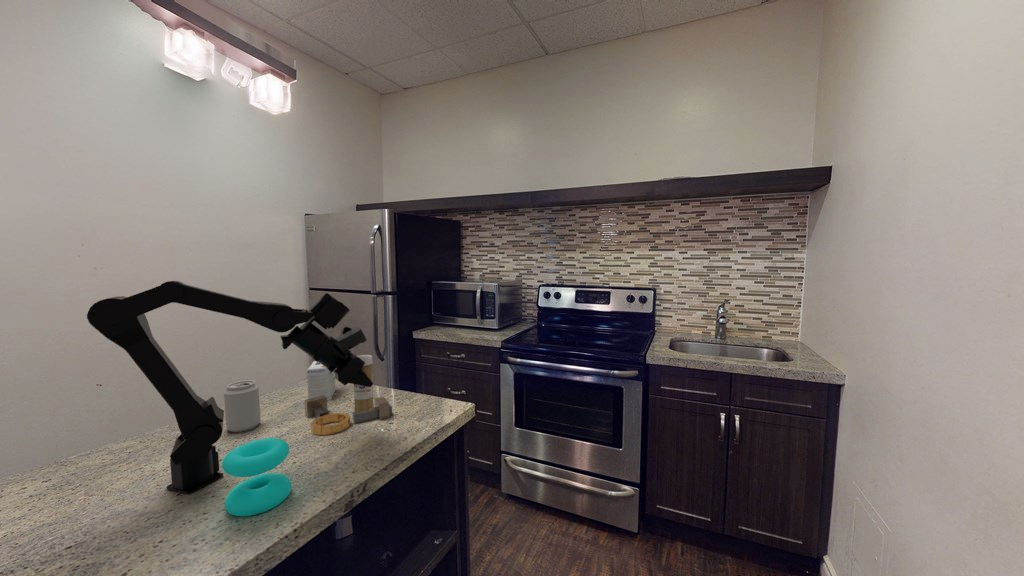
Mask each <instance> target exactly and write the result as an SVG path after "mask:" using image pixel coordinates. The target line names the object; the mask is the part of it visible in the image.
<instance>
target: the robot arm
mask: <svg viewBox="0 0 1024 576" xmlns="http://www.w3.org/2000/svg"><path fill="white" fill-rule="evenodd" d="M172 303H174V304H175V303H176V304H179V305H180V304H181V305H183V306H184V305H185V306H188V307H193V308H197V309H202V310H206V311H211V312H215V313H220V314H224V315H228V316H232V317H237V318H242V319H244V320H247V321H249V322H252V323H254V324H256V325H259V326H260V327H264V328H266V329H268V330H271V331H274V332H276V333H286V332H288V334H286V335H285V334H284V335H280V340H281V347H282V350H287V349H288V348H289V347H290V346H291V345H292V344H293V345H295V347H297V348H298V349H300V350H301V351H303V352H304V353H306V355H308V356H310V357H311V358H312V359H313V360H314V361H317V362H319V363H321V364H322V365H323V366H325V367H326V368H327V369H328V370H329V371H331V372H333V371H334V373H335V380H337V381H338V382H339V383H341V384H342V385H343V386H346V385H348V384H353V385H354V384H357V385H362V386H367V387H371V386H372V385H373V386H374V381H373V382H372V381H371V380H370V379H369V377H368V376H367V375H366V374H365V373H364V371H363V370H362V367H363V366H364V364H365V362H364V361H362V360H361V359H360V358H358V357H357V356H358V355H356V354H354V353H352V350H351V349H354V348H355V347H357V346H359V345H361V344H364V343H365V342H367V337H366V335H365V334H364V331H363V330H362V328H360V327H358V326H355V327H352V328H351V327H349V326H348V325H345V326H344V327H342V328H341V329H340V331H341V333H340V334H339V336H337V337H336V338H334V337H333V336H331V335H330V336H329V335H328V334H327V333H325V332H324V331H323V330H321V329H320V328H319V327H317V326H316V325H315V324H314V323H316V324H318V325H319V326H320V327H321V328H322V329H324V330H327V329H330V328H331V329H332V330H334V328H335V327H336V326H337V325H338V324H340V322H341V321H342V320H343V319H344V318H345V317H346V316H347V315H348V314H349V313H350V311H351V309H350V308H348V307H347V306H346V305H345V304H344V303H343V302H342V301H339V300H338V299H336V298H335V297H333V296H332V295H330V294H329V293H328V292H325V293H323V295H321V296H320V299H319V300H318V301H317V302H315V304H314V305H313V306H312V307H310V309H306V308H293V307H292V306H290V305H288V304H286V303H279V302H269V301H259V300H258V301H256V300H250V299H249V300H248V299H245V298H241V297H236V296H233V295H230V294H224V293H221V292H217V291H213V290H210V289H205V288H201V287H198V286H194V285H191V284H190V285H189V284H186V283H184V282H181V281H179V280H170V281H165V282H163V283H161V284H160V285H158V286H156V287H152V288H150V289H147V290H145V291H141V292H139V293H136V294H133V295H130V296H123V295H122V296H118V295H117V296H114V297H113V296H112V297H108V298H105V299H100V300H98V301H97V302H94V303H93V304H92V305H90V307H89V309H88V311H87V313H86V319H87V321H88V323H89V324H90V325H91V326H92V327H93V328H94V329H95V330H97V331H98V332H99V333H100V334H101V335H102V336H104V337H105V338H106V339H107V340H109V341H111V342H113V343H114V344H115V345H116V346H119V347H120V348H122V350H124V351H125V352H126V353H127V354H128V355H129V357H130V358H131V359H132V361H133V362H134V363H135V365H136V366H137V367H138V368H139V369H140V371H141V373H142V374H143V375H144V376H145V378H146V379H147V380H148V381H149V382H150V383H151V384H152V386H153V387H154V389H155V390H156V391H157V393H159V395H160V396H161V397H162V398H163V400H164V401H165V402H166V404H167V405H168V406H169V408H170V409H171V410H172V411H173V414H174V416H175V420H176V424H177V425H178V426H177V427H178V430H179V431H180V433H181V434H180V435H178V436H177V437H176V438H175V440H174V441H175V442H174V445H173V447H172V449H171V452H170V455H169V463H170V465H169V466H170V477H171V483H170V484H168V485H167V486H166V490H168V491H173V492H177V493H182V494H186V495H190V494H192V493H194V492H196V491H198V490H200V489H202V488H204V487H206V486H208V485H209V484H211V483H213V482H215V481H217V480H218V479H221V478H223V477H224V473H223V472H220V460H219V451H217V447H216V445H214V444H215V443H217V442H218V441H219V440H220V439H221V437H222V434H223V429H224V417H225V409H222V408H220V407H219V406H218V404H217V403H216V400H215V397H214V396H211V397H210V398H208V399H207V400H205V399H204V398H202V397H200V396H199V395H198V394H197V393H196V392H195V391H194V390H193V389H192V387H191V385H190V384H189V383H188V382H187V380H186V379H185V377H184V376H183V374H182V373H181V372H180V371H179V370H178V368H177V367H176V365H174V363H173V361H172V360H171V359H170V358H169V357H168V355H167V354H166V353H165V351H164V349H163V348H162V347H161V346H160V344H159V343H158V342H157V341H156V339H155V337H154V336H153V334H152V330H151V327H150V324H149V321H148V319H147V316H146V314H147V313H149V312H152V311H154V310H157V309H160V308H162V307H164V306H167V305H169V304H172ZM313 322H314V323H313ZM300 324H302V325H301V326H299V325H300ZM289 331H290V332H289Z"/></svg>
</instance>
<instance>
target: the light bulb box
mask: <svg viewBox="0 0 1024 576" xmlns="http://www.w3.org/2000/svg"><path fill="white" fill-rule="evenodd" d="M306 379H307V381H306V382H307V383H306V384H307V396H308V397H307V399H310V398H314V397H319V396H323V395H324V396H326V397H327V401H331V400H332V398H333V395H334V394H335V392H336V388H337V387H336V378H335V373H334V371H333V372H331V371H329V370H328V369H327V368H326V367H325V366H323V365H322V364H321V363H319V362H317V361H315V360H314V361H312V363H311V364H310V365H309V367H308V368H307V369H306Z"/></svg>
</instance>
